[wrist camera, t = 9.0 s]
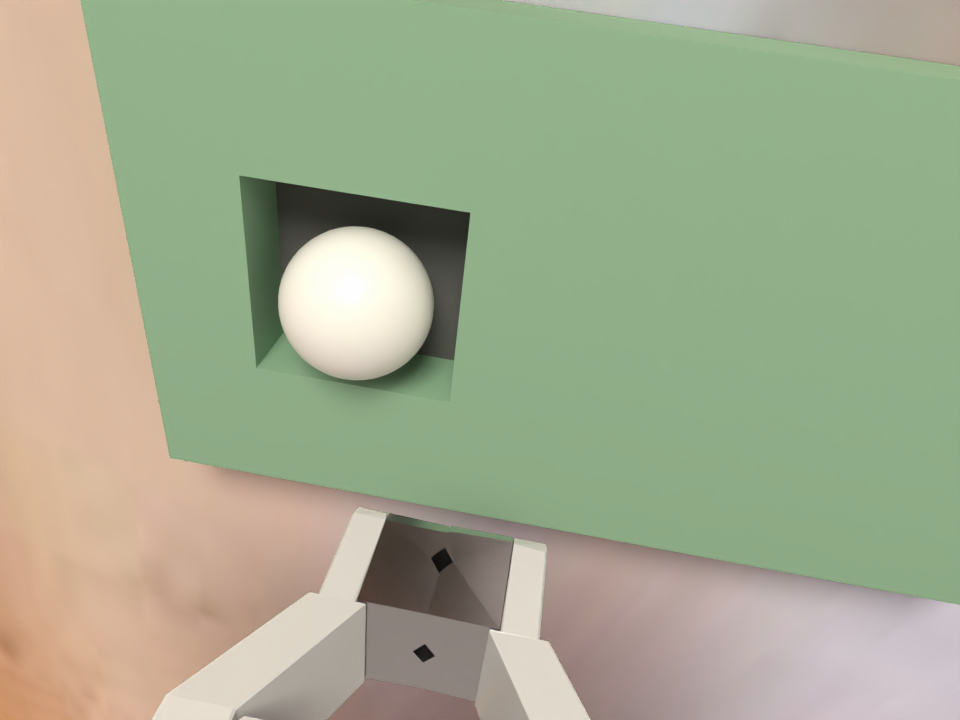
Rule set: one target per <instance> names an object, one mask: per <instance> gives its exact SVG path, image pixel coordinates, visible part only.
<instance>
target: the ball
mask: <svg viewBox="0 0 960 720" xmlns="http://www.w3.org/2000/svg"><path fill="white" fill-rule="evenodd" d="M278 310H279V317H280V322H281V325H282V328H283V331H284V333H285V335H286V337H287V339H288V341H289V342H290V344H291V346H292V347H293V348H294V350H295V351H296V352H297V353H298V354H299V356H300V357H301V358H302V359H304V360H305V361H306V362H307V363H308V364H310V365H311V366H313V367H314V368H316V369H317V370H319V371H321V372H323V373H325V374H327V375H330V376H333V377H336V378H340V379H346V380H368V379H375V378H378V377H381V376H384V375H387V374H389V373H391V372H393V371H395V370H397V369H398V368H400V367H401V366H403V365H404V364H406V363H407V362H408V361H409V360H410V359H411V358H412V357H413V356H414V355H415V354H416V353H417V352H418V350H419V349H420V348H421V346H422V345H423V343H424V341H425V339H426V337H427V335H428V333H429V330H430V328H431V324H432V320H433V314H434V295H433V289H432V285H431V281H430V278H429V276H428V274H427V271H426V269H425V268H424V266H423V264H422V262H421V261H420V260H419V258H418V257H417V256H416V254H415V253H414V252H413V251H412V250H411V249H410V248H409V247H408V246H407V245H405V244H404V243H403V242H402V241H400V240H399V239H397V238H396V237H394V236H392V235H390V234H388V233H386V232H383V231H380V230H377V229H374V228H368V227H358V226H349V227H341V228H337V229H333V230H329V231H327V232H325V233H322V234H320V235H318V236H316V237H315V238H313V239H311V240H310V241H309V242H307V243H306V244H305V245H304V246H303V247H302V248H300V249H299V250H298V251H297V253H296V254H295V255H294V256H293V258H292V259H291V261H290V262H289V264H288V266H287V267H286V269H285V272H284V274H283V277H282V280H281V283H280V287H279V294H278Z"/></svg>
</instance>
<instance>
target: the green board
mask: <svg viewBox="0 0 960 720" xmlns="http://www.w3.org/2000/svg"><path fill="white" fill-rule="evenodd" d="M81 5H82V10H83V15H84V20H85V25H86V31H87V36H88V41H89V46H90V51H91V56H92V61H93V66H94V72H95V77H96V82H97V87H98V92H99V97H100V102H101V107H102V112H103V118H104V123H105V128H106V133H107V138H108V143H109V148H110V153H111V159H112V164H113V169H114V174H115V179H116V184H117V189H118V194H119V200H120V205H121V210H122V215H123V220H124V225H125V230H126V235H127V241H128V246H129V251H130V256H131V261H132V266H133V271H134V276H135V281H136V287H137V292H138V297H139V302H140V307H141V312H142V317H143V322H144V328H145V333H146V338H147V343H148V348H149V353H150V358H151V363H152V369H153V374H154V379H155V384H156V389H157V394H158V399H159V404H160V409H161V415H162V420H163V425H164V430H165V435H166V440H167V445H168V450H169V456H170V458H174V459H179V460H184V461H190V462H195V463H200V464H206V465H211V466H217V467H222V468H227V469H233V470H238V471H243V472H249V473H254V474H260V475H265V476H270V477H276V478H281V479H286V480H292V481H297V482H303V483H308V484H313V485H319V486H324V487H330V488H335V489H340V490H346V491H351V492H356V493H362V494H367V495H373V496H378V497H383V498H389V499H394V500H399V501H405V502H410V503H416V504H421V505H426V506H432V507H437V508H443V509H448V510H453V511H459V512H464V513H469V514H475V515H480V516H486V517H491V518H496V519H502V520H507V521H512V522H518V523H523V524H529V525H534V526H539V527H545V528H550V529H555V530H561V531H566V532H572V533H577V534H582V535H588V536H593V537H599V538H604V539H609V540H615V541H620V542H625V543H631V544H636V545H642V546H647V547H652V548H658V549H663V550H668V551H674V552H679V553H685V554H690V555H695V556H701V557H706V558H711V559H717V560H722V561H728V562H733V563H738V564H744V565H749V566H755V567H760V568H765V569H771V570H776V571H781V572H787V573H792V574H798V575H803V576H808V577H814V578H819V579H824V580H830V581H835V582H841V583H846V584H851V585H857V586H862V587H868V588H873V589H878V590H884V591H889V592H894V593H900V594H905V595H911V596H916V597H921V598H927V599H932V600H937V601H943V602H948V603H954V604H959V605H960V66H956V65H949V64H942V63H935V62H928V61H921V60H914V59H907V58H900V57H893V56H886V55H879V54H872V53H865V52H858V51H851V50H844V49H837V48H830V47H823V46H816V45H809V44H802V43H795V42H788V41H781V40H775V39H768V38H761V37H754V36H747V35H740V34H733V33H726V32H719V31H712V30H705V29H698V28H691V27H684V26H677V25H670V24H663V23H656V22H649V21H642V20H635V19H628V18H621V17H614V16H607V15H601V14H594V13H587V12H580V11H573V10H566V9H559V8H552V7H545V6H538V5H531V4H524V3H517V2H510V1H503V0H81ZM349 226H358V227H368V228H374V229H377V230H380V231H383V232H386V233H388V234H390V235H392V236H394V237H396V238H397V239H399V240H400V241H402V242H403V243H404V244H405V245H407V246H408V247H409V248H410V249H411V250H412V251H413V252H414V253H415V254H416V256H417V257H418V258H419V260H420V261H421V262H422V264H423V266H424V268H425V269H426V271H427V274H428V276H429V278H430V281H431V285H432V289H433V295H434V314H433V320H432V324H431V328H430V330H429V333H428V335H427V337H426V339H425V341H424V343H423V345H422V346H421V348H420V349H419V350H418V352H417V353H416V354H415V355H414V356H413V357H412V358H411V359H410V360H409V361H408V362H407V363H406V364H404V365H403V366H401V367H400V368H398V369H397V370H395V371H393V372H391V373H389V374H387V375H384V376H381V377H378V378H375V379H368V380H346V379H340V378H336V377H333V376H330V375H327V374H325V373H323V372H321V371H319V370H317V369H316V368H314V367H313V366H311V365H310V364H308V363H307V362H306V361H305V360H304V359H302V358H301V357H300V356H299V354H298V353H297V352H296V351H295V350H294V348H293V347H292V346H291V344H290V342H289V341H288V339H287V337H286V335H285V333H284V331H283V328H282V325H281V322H280V317H279V310H278V294H279V287H280V283H281V280H282V277H283V274H284V272H285V269H286V267H287V266H288V264H289V262H290V261H291V259H292V258H293V256H294V255H295V254H296V253H297V251H298V250H299V249H300V248H302V247H303V246H304V245H305V244H306V243H307V242H309V241H310V240H311V239H313V238H315V237H316V236H318V235H320V234H322V233H325V232H327V231H329V230H333V229H337V228H341V227H349Z"/></svg>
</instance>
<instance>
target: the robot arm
mask: <svg viewBox="0 0 960 720" xmlns="http://www.w3.org/2000/svg"><path fill="white" fill-rule="evenodd" d="M546 559H547V547H546V544H542V543H537V542H532V541H527V540H522V539H517V538H514V540H513V537H509V536H503V535H498V534H492V533H487V532H482V531H476V530H471V529H465V528H460V527H454V526H451V527H449V526H445V525H440V524H436V523H431V522H427V521H422V520H418V519H413V518H409V517H404V516H400V515H395V514H391V513H385V512H380V511H376V510H371V509H366V508H362V507H358V508H357V509H356V510H355V512H354V513H353V514H352V516H351V518H350V521H349V523H348V525H347V528H346V530H345V533H344V535H343V537H342V540H341V542H340V544H339V547H338V549H337V551H336V554H335V556H334V558H333V561H332V563H331V565H330V568H329V570H328V572H327V575H326V577H325V580H324V582H323V584H322V587H321V589H320V591H319V594H318V593H312V592H308V593H307V594H305V595H304V596H303V597H301V598H300V599H298V600H297V601H296V602H294V603H293V604H291V605H290V606H289V607H287V608H286V609H285V610H283V611H282V612H280V613H279V614H278V615H276V616H275V617H273V618H272V619H271V620H269V621H268V622H266V623H265V624H264V625H262V626H261V627H259V628H258V629H257V630H255V631H254V632H253V633H251V634H250V635H248V636H247V637H246V638H244V639H243V640H241V641H240V642H239V643H237V644H236V645H234V646H233V647H232V648H230V649H229V650H227V651H226V652H225V653H223V654H222V655H220V656H219V657H218V658H216V659H215V660H214V661H212V662H211V663H209V664H208V665H207V666H205V667H204V668H202V669H201V670H200V671H198V672H197V673H195V674H194V675H193V676H191V677H190V678H188V679H187V680H186V681H184V682H183V683H182V684H180V685H179V686H177V687H176V688H175V689H173V690H172V691H170V692H169V693H168V694H166V696H165V697H164V699H163V701H162V703H161V704H160V706H159V708H158V710H157V711H156V713H155V715H154V717H153V718H152V720H327V719H328V718H329V717H330V716H331V715H332V714H333V713H334V712H335V711H336V710H337V709H338V708H339V707H340V706H341V705H342V704H343V703H344V702H345V701H346V700H347V699H348V698H349V697H350V696H351V695H352V694H353V693H354V692H355V691H356V690H357V689H358V688H359V687H360V686H361V685H362V684H363V683H364V678H368V679H373V680H379V681H384V682H390V683H395V684H400V685H406V686H411V687H417V688H420V687H421V688H422V689H426V690H430V691H434V692H438V693H442V694H446V695H450V696H454V697H459V698H463V699H467V700H471V701H475V706H476V709H477V712H478V715H479V718H480V720H591V719H590V717H589V716H588V714H587V712H586V710H585V708H584V706H583V704H582V702H581V700H580V699H579V697H578V695H577V693H576V691H575V689H574V687H573V685H572V684H571V682H570V680H569V678H568V676H567V674H566V672H565V670H564V668H563V667H562V665H561V663H560V661H559V659H558V657H557V655H556V653H555V652H554V650H553V648H552V646H551V644H550V642H549V641H545V640H541V639H539V638H540V626H541V615H542V604H543V593H544V581H545V570H546Z"/></svg>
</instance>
